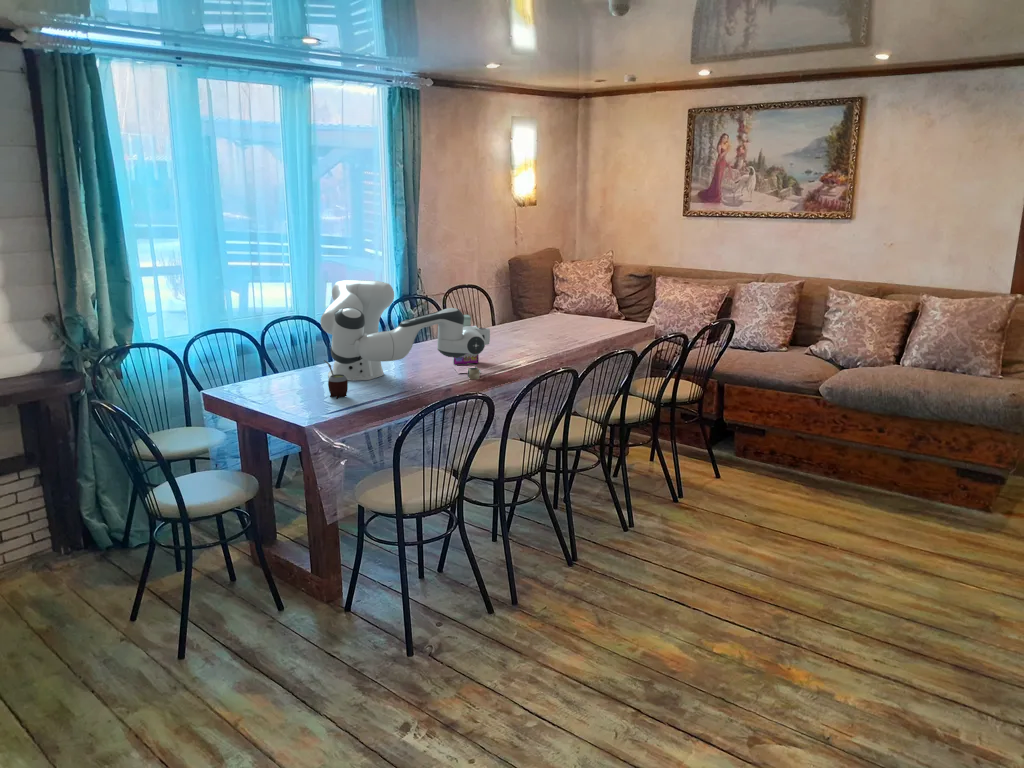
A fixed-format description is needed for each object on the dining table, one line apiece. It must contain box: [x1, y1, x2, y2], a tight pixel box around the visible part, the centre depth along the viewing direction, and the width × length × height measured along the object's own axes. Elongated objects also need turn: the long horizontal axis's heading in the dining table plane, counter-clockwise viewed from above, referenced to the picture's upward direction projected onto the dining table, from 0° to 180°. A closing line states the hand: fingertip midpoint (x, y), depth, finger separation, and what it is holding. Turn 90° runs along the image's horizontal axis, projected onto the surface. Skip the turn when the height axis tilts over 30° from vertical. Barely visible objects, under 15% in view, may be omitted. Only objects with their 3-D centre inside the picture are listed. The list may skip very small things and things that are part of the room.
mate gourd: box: [323, 359, 349, 400], centre depth 282 cm, size 8×8×15 cm
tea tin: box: [463, 314, 472, 327], centre depth 318 cm, size 6×6×15 cm
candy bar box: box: [452, 325, 480, 365], centre depth 335 cm, size 11×5×16 cm, turn 101°
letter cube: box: [467, 366, 480, 380], centre depth 312 cm, size 4×4×4 cm
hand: (462, 331), depth 318 cm, fingers closed on tea tin, 5 cm apart
